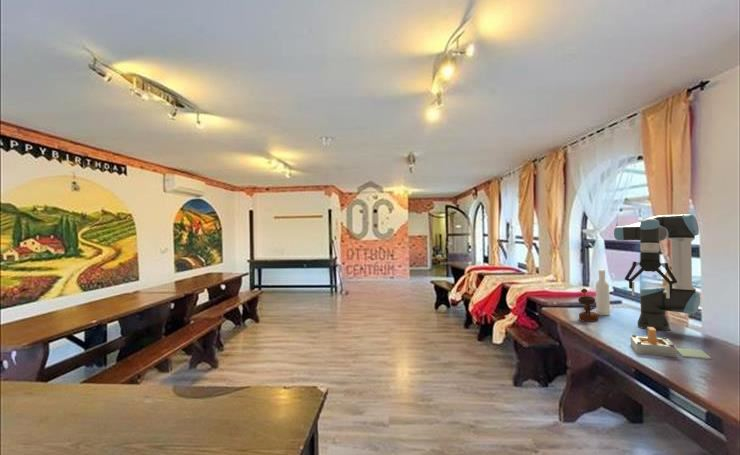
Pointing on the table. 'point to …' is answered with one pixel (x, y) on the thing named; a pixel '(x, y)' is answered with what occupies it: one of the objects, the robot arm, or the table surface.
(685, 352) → the mat
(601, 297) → the bottle
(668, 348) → the housing
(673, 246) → the robot arm
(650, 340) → the orange stamp
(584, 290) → the brown wooden tiered piece
